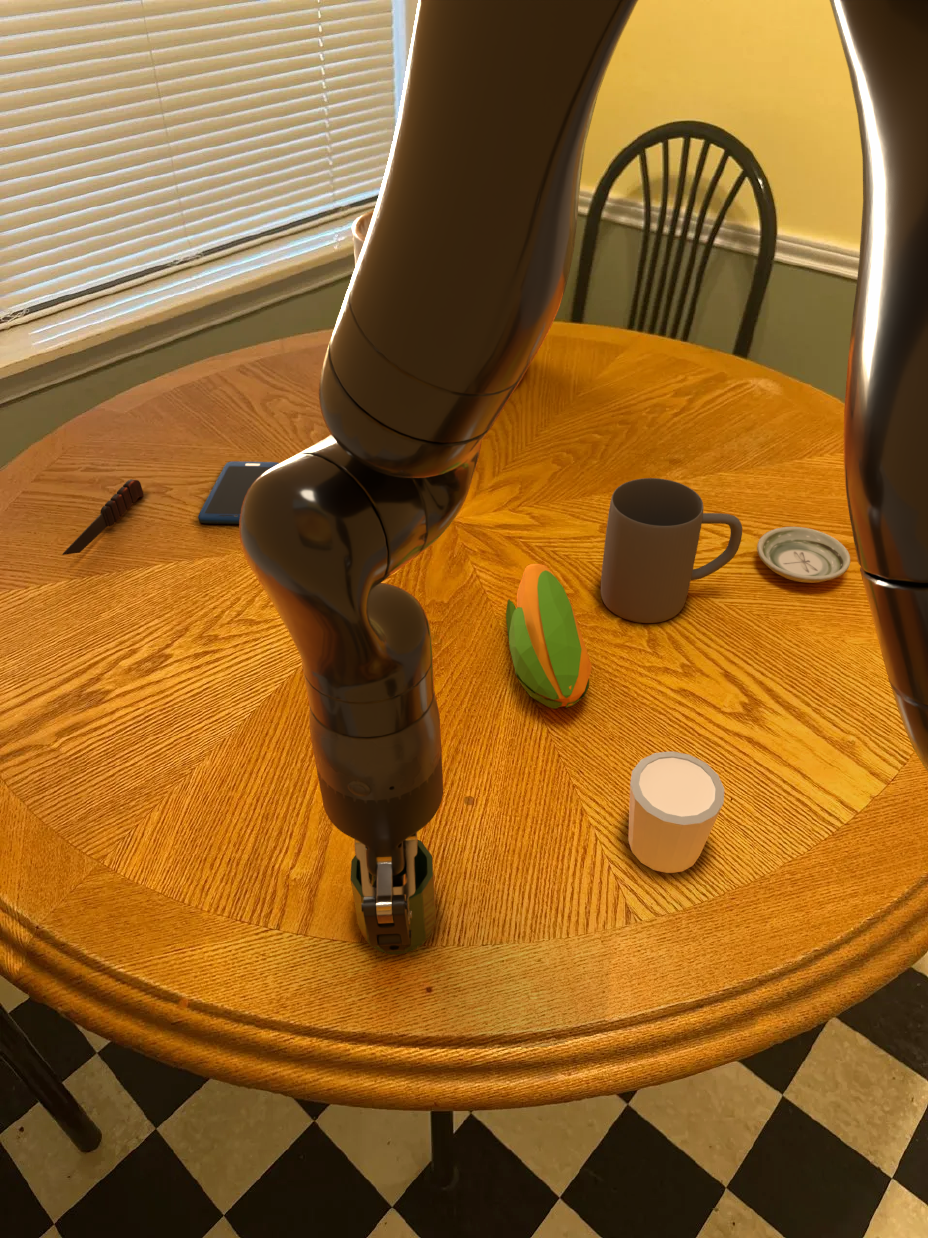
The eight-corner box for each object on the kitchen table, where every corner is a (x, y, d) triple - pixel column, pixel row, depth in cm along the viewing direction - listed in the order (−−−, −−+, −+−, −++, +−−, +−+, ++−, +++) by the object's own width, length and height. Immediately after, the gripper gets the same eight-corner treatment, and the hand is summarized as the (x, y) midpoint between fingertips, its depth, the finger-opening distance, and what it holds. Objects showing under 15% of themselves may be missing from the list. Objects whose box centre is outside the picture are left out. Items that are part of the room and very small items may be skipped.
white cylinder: (681, 798, 71) (694, 740, 67) (725, 865, 66) (743, 809, 62) (605, 820, 70) (614, 763, 65) (645, 891, 65) (658, 834, 60)
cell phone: (282, 466, 113) (281, 461, 113) (257, 525, 103) (256, 520, 102) (227, 465, 114) (226, 460, 113) (197, 524, 103) (195, 518, 103)
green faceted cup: (436, 952, 61) (433, 901, 57) (357, 957, 61) (348, 906, 57) (434, 883, 65) (431, 831, 61) (361, 887, 65) (352, 835, 61)
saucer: (736, 553, 97) (740, 536, 96) (807, 536, 100) (812, 518, 98) (788, 604, 90) (793, 585, 89) (863, 583, 93) (870, 565, 91)
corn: (523, 667, 72) (497, 532, 87) (514, 730, 77) (491, 592, 92) (610, 666, 73) (569, 533, 88) (596, 728, 78) (559, 591, 93)
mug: (605, 625, 88) (617, 528, 80) (594, 572, 95) (604, 477, 87) (738, 624, 88) (763, 526, 80) (717, 570, 95) (738, 475, 87)
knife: (73, 574, 96) (64, 552, 94) (65, 573, 96) (57, 551, 94) (145, 495, 109) (139, 474, 107) (138, 494, 109) (132, 473, 107)
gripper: (445, 845, 46) (452, 999, 56) (437, 661, 57) (444, 819, 67) (303, 852, 45) (337, 1005, 56) (323, 666, 56) (348, 824, 67)
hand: (395, 903), depth 62 cm, fingers closed on green faceted cup, 5 cm apart
